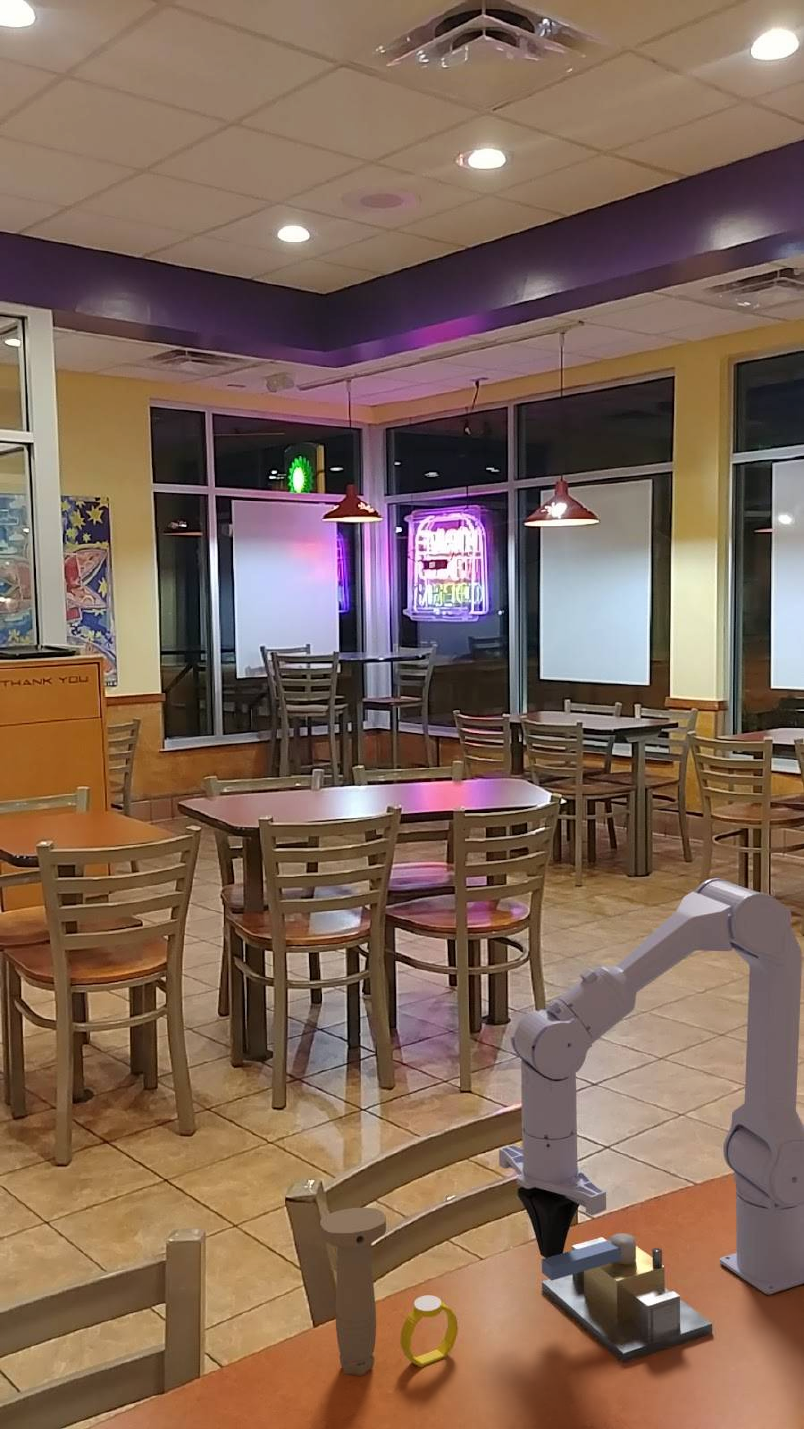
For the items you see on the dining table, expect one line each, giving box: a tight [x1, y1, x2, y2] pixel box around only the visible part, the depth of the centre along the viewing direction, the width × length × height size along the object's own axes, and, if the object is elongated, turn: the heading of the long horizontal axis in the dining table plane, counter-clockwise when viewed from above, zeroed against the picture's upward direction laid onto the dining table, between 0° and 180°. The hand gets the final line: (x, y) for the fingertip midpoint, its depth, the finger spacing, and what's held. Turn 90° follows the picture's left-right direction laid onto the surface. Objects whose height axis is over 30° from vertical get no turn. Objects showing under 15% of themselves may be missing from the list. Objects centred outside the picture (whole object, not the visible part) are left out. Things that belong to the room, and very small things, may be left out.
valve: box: [541, 1237, 713, 1364], centre depth 128 cm, size 11×15×7 cm
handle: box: [319, 1207, 387, 1377], centre depth 119 cm, size 5×6×15 cm
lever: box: [541, 1232, 637, 1281], centre depth 126 cm, size 11×3×2 cm, turn 115°
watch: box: [400, 1294, 459, 1368], centre depth 121 cm, size 6×3×6 cm, turn 122°
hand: (551, 1254), depth 128 cm, fingers closed
